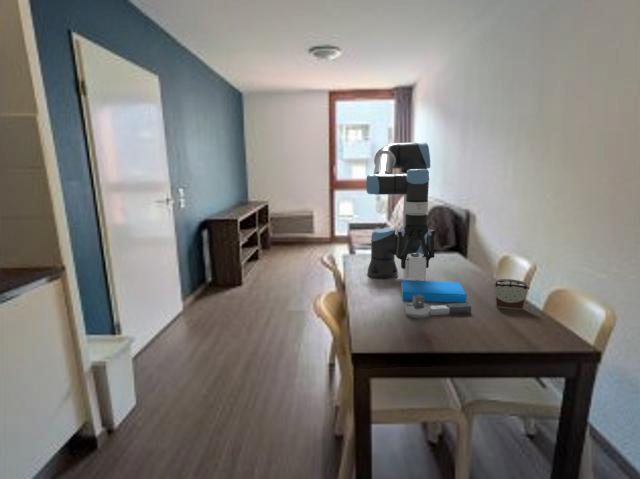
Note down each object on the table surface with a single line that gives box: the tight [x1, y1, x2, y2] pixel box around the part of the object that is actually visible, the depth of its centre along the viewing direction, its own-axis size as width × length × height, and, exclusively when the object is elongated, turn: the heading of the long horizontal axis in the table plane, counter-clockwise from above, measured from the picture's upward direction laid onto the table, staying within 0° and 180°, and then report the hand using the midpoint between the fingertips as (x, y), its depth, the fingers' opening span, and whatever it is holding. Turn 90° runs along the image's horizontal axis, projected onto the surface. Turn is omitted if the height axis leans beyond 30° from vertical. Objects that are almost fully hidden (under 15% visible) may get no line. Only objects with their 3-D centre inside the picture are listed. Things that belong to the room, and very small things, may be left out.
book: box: [401, 279, 467, 303], centre depth 163 cm, size 17×4×25 cm
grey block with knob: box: [406, 253, 426, 281], centre depth 139 cm, size 6×6×9 cm
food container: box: [493, 278, 530, 311], centre depth 149 cm, size 12×6×10 cm, turn 71°
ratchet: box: [405, 295, 472, 320], centre depth 142 cm, size 9×24×7 cm, turn 95°
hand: (414, 276), depth 139 cm, fingers closed on grey block with knob, 6 cm apart
